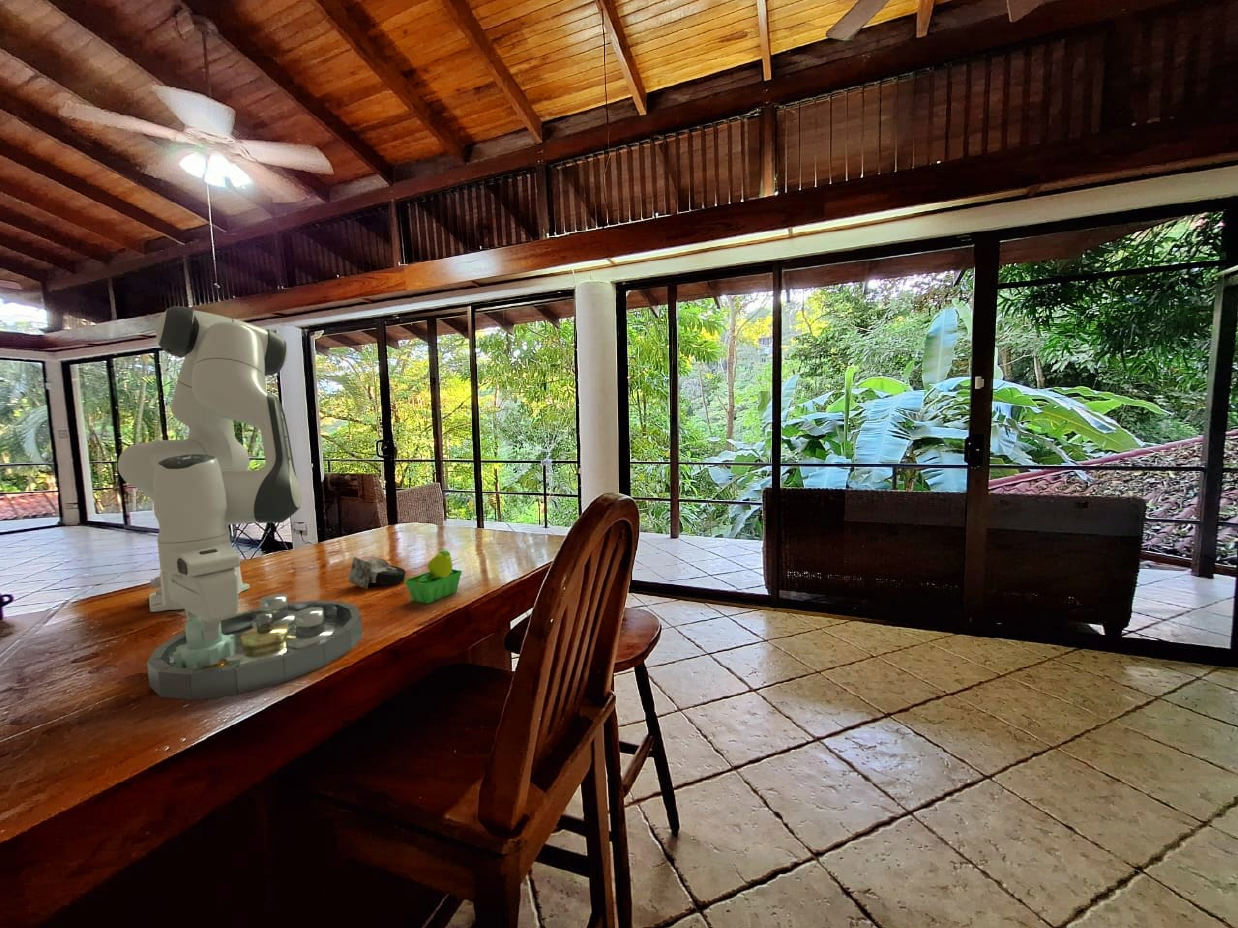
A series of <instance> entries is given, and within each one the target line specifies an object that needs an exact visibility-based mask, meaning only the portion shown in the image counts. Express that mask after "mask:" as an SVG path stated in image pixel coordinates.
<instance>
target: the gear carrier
mask: <svg viewBox="0 0 1238 928" xmlns="http://www.w3.org/2000/svg"><path fill="white" fill-rule="evenodd" d="M288 601H289V600H288V594H287V593H274V594H270V595H267V596H263V597H261V598H260V599H259V608H255V609H250V610H246V611H242V612H238V613H236V615H235V616H234V617H232V618H228V619H225V620H221V621H220V622H221V633H222V634H223V635H231V634H233V635H235V645H236V650H234V653H235V654H234V655H232V656H231V657H226V658H224V659H222V660H220V661H219V663H216V664H213V665H205V666H201V667H197V668H195V669H191V668H179V667H175V665H174V655H173V652H176V647H178V646H179V645H184V644H187V641H186V632H185V631H184V632H181V633H180V634H177V635H176V636H174V637H173V638H171V639H169V640H168V641H165V642H164V643H162V644H160V645H159V646H157V647H156V648H155V649H154V651H153V652H152V654H151V655H150V656H149V658H148V659H147V661H146V666H147V674H148V683H149V687H150V688H151V689H152V690H153V691H154V692H155V693H156V694H157V695H158V696H159V697H160V698H167V699H176V700H178V699H180V700H189V701H195V700H196V701H197V700H205V699H212V698H220V697H229V696H237V695H241V694H244V693H249V692H252V691H256V690H257V691H258V690H260V689H264V688H269V687H272V686H275V685H276V686H277V685H279V684H283V683H286V682H289V681H291V680H294V679H297V678H298V677H301V676H304V675H306V674H309V673H311V672H314V671H316V670H318V669H321V668H323V667H326V666H328V665H329V664H331V663H333V662H334V661H336V660H337V659H339V658H341V657H342V656H344V655H345V654H347V653H349V652H350V651H352V650H353V648H354V647H355V646H356V645H357V644H358V642H359V641H360V640H361V638H362V637H363V627H362V626H363V625H362V615H361V612H360V609H359V607H358V606H357V605H353V604H351V603H348V602H345V601H339V600H338V601H337V600H320V599H319V600H317V599H316V600H308V601H298V602H297V601H296V602H288Z"/></svg>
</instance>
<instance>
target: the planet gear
mask: <svg viewBox="0 0 1238 928" xmlns="http://www.w3.org/2000/svg"><path fill="white" fill-rule="evenodd" d="M184 628H185V629H184V632H186V641H187V644H184V645H179V646H178V647H176V652H173V655H174V665H175V667H179V668H191V669H195V668H197V667H201V666H205V665H213V664H216V663H219V661H220V660H222V659H224V658H226V657H231V656H232V655H234V654H235V653H234V650H236V645H235V635H233V634H231V635H223V634H222V633H221V622H220V624H219V628H218V630H219V638H218V639H216V640H214V641H210V642H206V641H204V640H203V639H202V632H201V630H203V622H202V621H201V618H200V617H198V618H195V619H192V620H190V621H188V620H187V621H185V623H184Z"/></svg>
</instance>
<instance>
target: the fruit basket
mask: <svg viewBox="0 0 1238 928" xmlns="http://www.w3.org/2000/svg"><path fill="white" fill-rule="evenodd" d="M427 569H428V570H429V571H427V572H424V573H421V574H419V575H415V576H413V577H410V578H407V579H404V583H405V585H406V586H407V589H408V592H409V594H410V597H411V600H412V602H417V603H421V604H422V603H423V604H424V603H425V604H431V603H433V602H435V601H438V600H440V599H442V598H444V597H447V596H449V595H451V594H455V593H457V591H458V587H459V583H460V580H461V579H460V578H461V576H462V573H463V571H462V570H457V569H453V561H452V557H451V552H449V551H448V550H441V551H439V552H438V553H437V554H435V556H434V557H432V558H431V559H430V560H429V561H428V563H427Z"/></svg>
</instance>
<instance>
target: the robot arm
mask: <svg viewBox="0 0 1238 928" xmlns="http://www.w3.org/2000/svg"><path fill="white" fill-rule="evenodd" d="M154 330H155V332H154V333H155V337H156V339H157V341H158V346H159V347H160V349H162V350H163V351H164V352H165V353H167V354H169V355H172V356H174V357H176V358H180V359H182V358H184V359H183V362H182V365H181V367H180V369H179V370H180V371H179V373H178V376H177V380H176V384H175V388H174V393H173V398H172V402H171V405H170V411H171V413H172V415H173V417H174V418H175V419H176V420H177V421H178V422H180V423H182V424H183V425H185V426H186V427H187V428H188V430H189V432H188V437H187V438H186V439H159V440H151V441H146V442H140V443H136V444H131V445H129V446H127V447H125V449H124V450H123V451H122V452H121V453H120V455H119V457H118V461H117V470H118V473H119V475H120V476H121V478H122V479H123V481H125V483H127V484H128V485H130V486H131V487H134V488H136V489H138V490H140V491H141V492H143V493H144V494H145V495H147V496H148V497H149V498H150V500H151V501H153V512H154V516H155V518H156V520H157V523H158V527H159V530H158V535H157V539H156V540H157V541H156V542H157V549H158V551H157V552H158V559H159V568H160V572H159V576H157V577H154V578H151V579H150V587H151V589H156V591H155V592H152V593H150V594H149V595H148V596H149V597H148V602H149V612H150V613H151V612H152V613H154V612H162V611H170V610H171V611H172V610H184V613H185V616H186V619H187V622H188V621H190V620H192V619H195V618H198V617H200V618H201V621H202V622H203V630H201V632H202V639H203V640H204V641H206V642H210V641H214V640H216V639H218V638H219V630H218V628H219V624H220V621H221V620H225V619H228V618H232V617H234V616H235V615H236V614H238V613H237V612H238V609H239V594H241V592H244V591H246V590H248V589H250V588H251V586H250V584H249V583H244V582H243V579H242V572H241V567H240V566H241V559H240V555H239V553H238V552H237V551H236V550H235V548H234V547H233V544H232V541H231V535H230V528H229V525H240V524H242V525H243V524H251V523H252V524H253V523H258V524H264V523H265V524H267V523H269V524H270V523H271V524H273V523H275V524H277V523H283V522H286V520H288V519H290V518H291V517H292V516H293V515H294V514H296V512H298V511H299V509H300V508H301V503H302V491H301V486H300V484H299V481H298V478H297V474H296V469H295V464H294V463H295V462H294V459H293V452H292V446H291V440H290V435H289V434H290V433H289V429H288V424H287V419H286V415H285V414H286V413H285V411H284V408H283V406H282V403H281V402H280V400H279V398H278V397H277V396H276V395H274V394H272V393H269V392H268V390H267V388H266V385H265V377H266V376H269V377H270V376H275V375H277V374H278V373H280V372H281V370H282V368H283V367H284V366H285V364H286V362H287V360H288V348H287V347H288V346H287V342H286V340H285V338H284V337H283V336H282V335H280V334H278V333H277V332H275V331H272V330H270V329H263V328H261V327H259V326H256V325H254V324H252V323H249V322H246V321H244V320H243V321H242V320H240V319H237V318H234V317H227V316H223V315H219V314H214V313H211V312H206V311H199V310H195V309H194V308H192V307H189V306H180V305H179V306H177V305H173V306H171V307H169V308H166V309H165V311H164V312H162V314H160V316H159V317H158V319H157V321H156V323H155V329H154ZM233 421H234V422H238V423H242V424H246V425H248V426H251V427H254V428H257V429H258V430H260V434H261V435H260V436H261V441H262V447H263V448H262V449H263V455H264V463H265V464H264V465H263V466H262V467H261V468H259V469H251V470H248V468H249V466H250V455H249V453H248V451H247V449H246V447H245V446H244V445H243V444H241V443H240V442H239V441H238V440H237V438H236V435H235V432H234V426H233V424H234V423H233ZM157 588H160V589H157Z"/></svg>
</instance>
